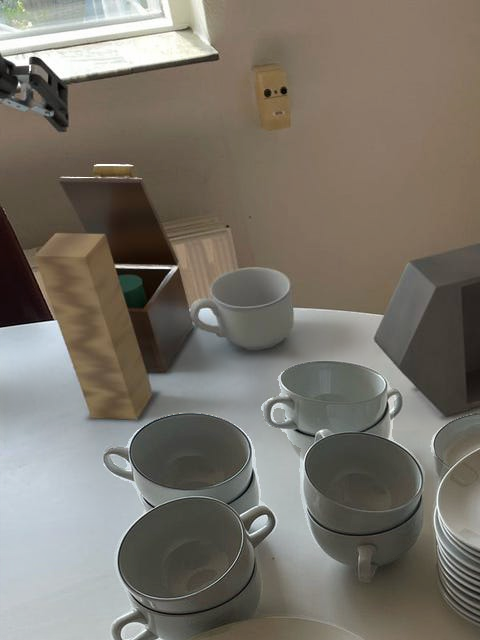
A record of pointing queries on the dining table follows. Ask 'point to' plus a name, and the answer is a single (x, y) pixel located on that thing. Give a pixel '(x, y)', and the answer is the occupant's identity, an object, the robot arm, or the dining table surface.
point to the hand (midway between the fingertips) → (24, 124)
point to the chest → (159, 315)
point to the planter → (438, 328)
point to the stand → (95, 324)
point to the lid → (120, 214)
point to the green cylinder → (133, 291)
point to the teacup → (249, 307)
